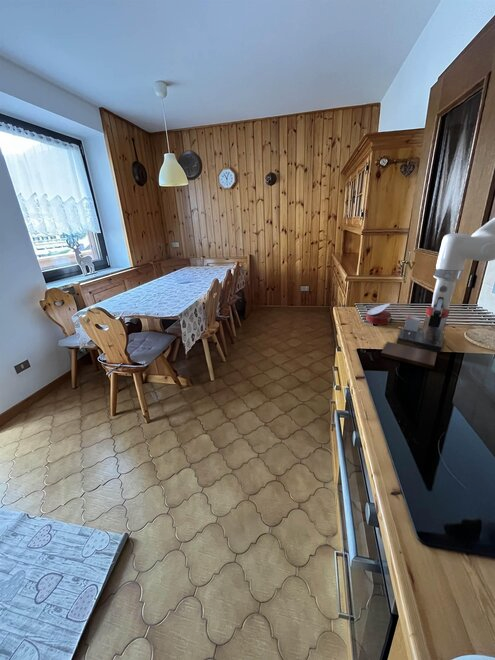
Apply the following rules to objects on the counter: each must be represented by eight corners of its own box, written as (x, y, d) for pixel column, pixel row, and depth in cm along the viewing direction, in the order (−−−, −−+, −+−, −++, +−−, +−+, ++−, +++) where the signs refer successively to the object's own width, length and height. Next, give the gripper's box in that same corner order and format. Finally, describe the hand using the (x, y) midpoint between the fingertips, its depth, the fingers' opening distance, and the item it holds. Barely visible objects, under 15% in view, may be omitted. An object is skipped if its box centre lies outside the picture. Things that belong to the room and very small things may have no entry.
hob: (443, 337, 109) (445, 331, 108) (440, 353, 100) (442, 346, 98) (399, 328, 117) (400, 322, 116) (392, 342, 108) (393, 336, 107)
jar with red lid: (441, 337, 104) (450, 307, 99) (439, 345, 99) (448, 314, 94) (420, 333, 108) (428, 304, 102) (418, 341, 103) (425, 311, 98)
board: (436, 356, 98) (437, 352, 97) (433, 369, 92) (434, 365, 91) (386, 344, 107) (387, 341, 106) (380, 356, 100) (381, 352, 100)
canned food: (377, 334, 124) (372, 318, 118) (363, 322, 132) (358, 307, 126) (400, 319, 123) (396, 303, 117) (384, 309, 131) (380, 293, 125)
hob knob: (417, 329, 110) (420, 317, 108) (417, 331, 109) (420, 319, 106) (404, 327, 113) (407, 315, 110) (403, 329, 111) (406, 317, 109)
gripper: (460, 282, 84) (445, 335, 92) (462, 267, 96) (448, 315, 105) (431, 279, 88) (419, 330, 96) (436, 265, 100) (425, 311, 109)
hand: (434, 322), depth 100 cm, fingers closed on jar with red lid, 6 cm apart
